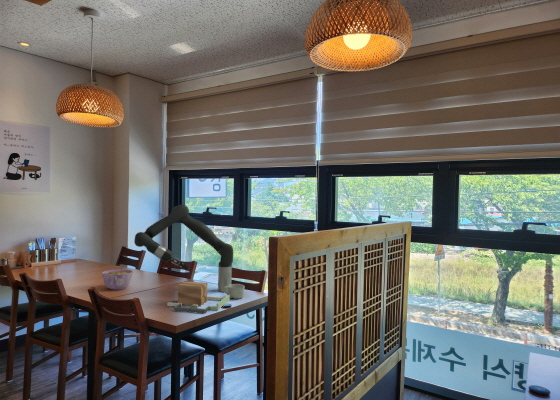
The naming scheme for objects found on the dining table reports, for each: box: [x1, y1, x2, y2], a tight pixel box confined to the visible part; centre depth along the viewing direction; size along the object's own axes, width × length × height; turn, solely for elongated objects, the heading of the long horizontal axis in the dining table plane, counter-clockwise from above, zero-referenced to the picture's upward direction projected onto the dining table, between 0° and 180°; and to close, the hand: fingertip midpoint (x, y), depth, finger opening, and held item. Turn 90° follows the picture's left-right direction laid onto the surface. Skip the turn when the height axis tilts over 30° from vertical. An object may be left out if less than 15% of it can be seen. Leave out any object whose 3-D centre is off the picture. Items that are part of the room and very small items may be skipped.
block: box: [177, 281, 208, 307], centre depth 238 cm, size 10×15×12 cm, turn 79°
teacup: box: [223, 283, 245, 300], centre depth 252 cm, size 14×11×8 cm
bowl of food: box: [101, 268, 134, 291], centre depth 269 cm, size 20×20×12 cm
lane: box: [166, 294, 231, 314], centre depth 233 cm, size 28×32×4 cm
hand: (187, 268), depth 236 cm, fingers closed
